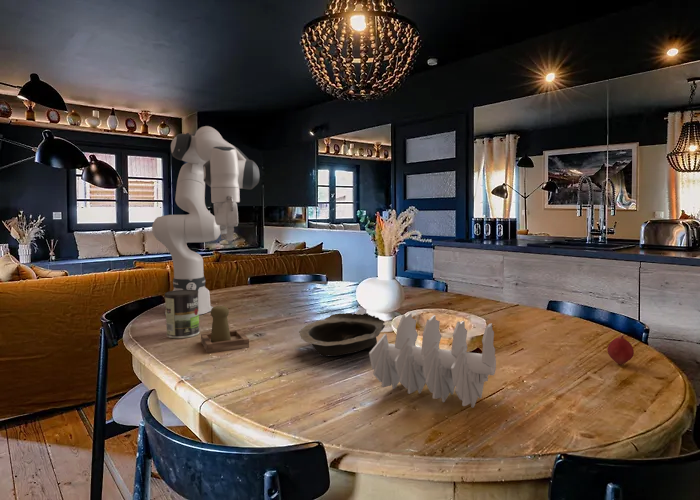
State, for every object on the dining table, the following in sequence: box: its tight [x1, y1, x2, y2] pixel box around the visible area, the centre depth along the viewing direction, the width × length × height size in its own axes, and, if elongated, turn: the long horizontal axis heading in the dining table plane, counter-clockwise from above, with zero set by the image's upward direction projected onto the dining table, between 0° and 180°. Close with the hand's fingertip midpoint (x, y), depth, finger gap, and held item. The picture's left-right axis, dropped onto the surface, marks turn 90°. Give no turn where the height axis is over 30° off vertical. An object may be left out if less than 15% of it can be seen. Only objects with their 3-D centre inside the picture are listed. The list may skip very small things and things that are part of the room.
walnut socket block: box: [200, 329, 250, 354], centre depth 135 cm, size 12×12×2 cm
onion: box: [607, 334, 635, 366], centre depth 116 cm, size 6×6×8 cm
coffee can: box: [164, 290, 200, 339], centre depth 147 cm, size 10×10×14 cm
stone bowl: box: [298, 312, 386, 358], centre depth 129 cm, size 25×25×9 cm
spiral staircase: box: [368, 312, 497, 408], centre depth 97 cm, size 18×18×25 cm
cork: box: [210, 305, 231, 342], centre depth 134 cm, size 6×6×11 cm
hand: (227, 239), depth 145 cm, fingers open, 8 cm apart
